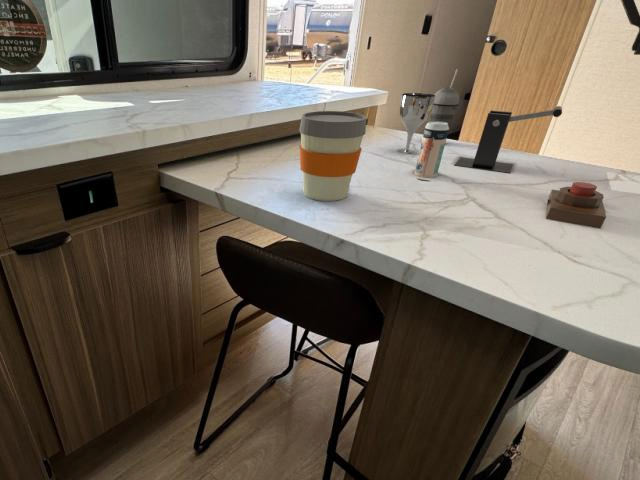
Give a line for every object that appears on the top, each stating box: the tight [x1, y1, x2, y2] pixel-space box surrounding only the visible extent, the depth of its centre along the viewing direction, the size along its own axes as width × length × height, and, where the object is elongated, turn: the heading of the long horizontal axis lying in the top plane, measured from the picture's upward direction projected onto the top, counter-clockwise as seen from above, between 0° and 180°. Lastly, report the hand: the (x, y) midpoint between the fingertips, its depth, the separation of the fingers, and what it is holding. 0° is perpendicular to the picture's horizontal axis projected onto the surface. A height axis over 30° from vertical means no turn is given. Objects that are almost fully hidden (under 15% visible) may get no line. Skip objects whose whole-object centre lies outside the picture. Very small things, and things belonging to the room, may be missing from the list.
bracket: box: [453, 110, 514, 174], centre depth 98 cm, size 12×9×13 cm
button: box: [569, 181, 598, 196], centre depth 75 cm, size 4×4×2 cm
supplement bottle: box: [414, 121, 450, 182], centre depth 92 cm, size 5×5×12 cm
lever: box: [508, 105, 563, 123], centre depth 92 cm, size 13×5×2 cm, turn 57°
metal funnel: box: [399, 92, 436, 155], centre depth 107 cm, size 8×8×15 cm
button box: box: [545, 186, 607, 229], centre depth 76 cm, size 12×8×4 cm, turn 147°
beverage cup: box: [428, 68, 460, 128], centre depth 115 cm, size 7×7×20 cm
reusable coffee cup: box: [298, 110, 367, 202], centre depth 82 cm, size 13×13×15 cm
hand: (639, 54), depth 73 cm, fingers closed
